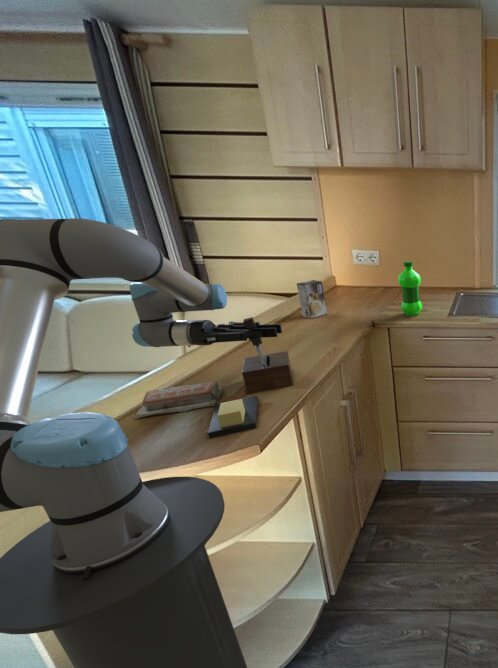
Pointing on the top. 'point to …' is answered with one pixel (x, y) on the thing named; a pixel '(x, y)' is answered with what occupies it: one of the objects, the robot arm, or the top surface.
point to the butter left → (224, 414)
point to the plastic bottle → (410, 289)
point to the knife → (257, 341)
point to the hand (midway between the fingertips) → (278, 330)
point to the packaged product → (179, 399)
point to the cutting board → (248, 423)
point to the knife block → (267, 372)
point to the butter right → (237, 412)
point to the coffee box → (312, 298)
